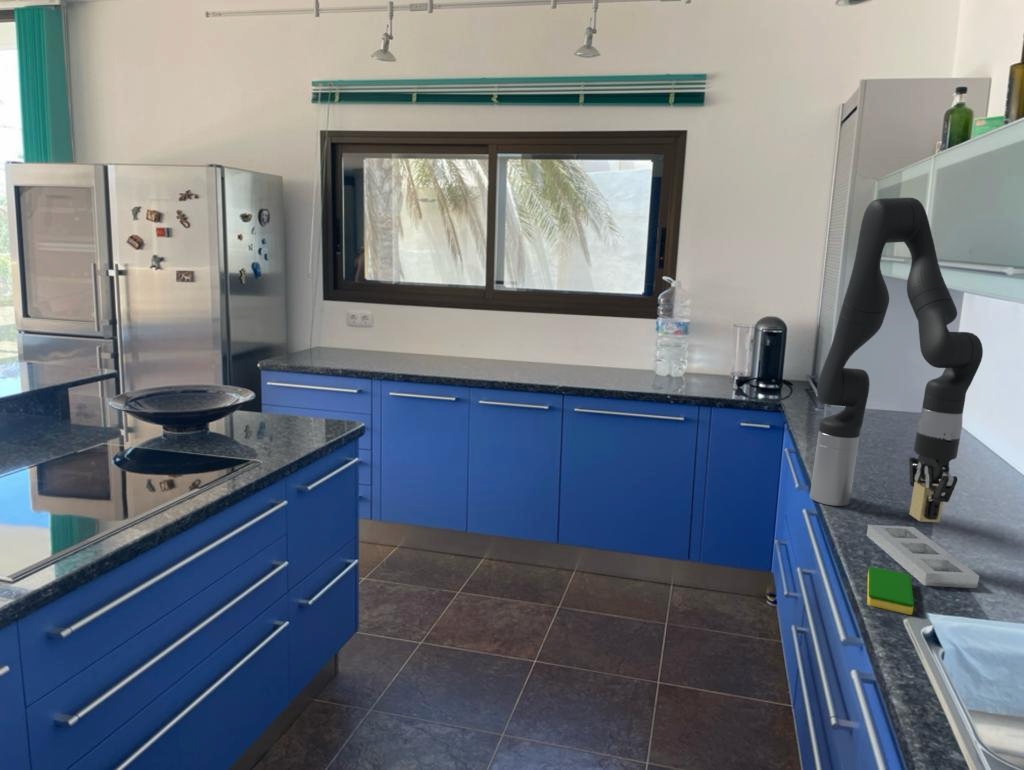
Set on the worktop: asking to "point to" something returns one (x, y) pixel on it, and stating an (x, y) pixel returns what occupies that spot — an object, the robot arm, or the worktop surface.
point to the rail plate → (922, 557)
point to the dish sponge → (890, 590)
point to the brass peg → (921, 502)
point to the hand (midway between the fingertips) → (924, 514)
